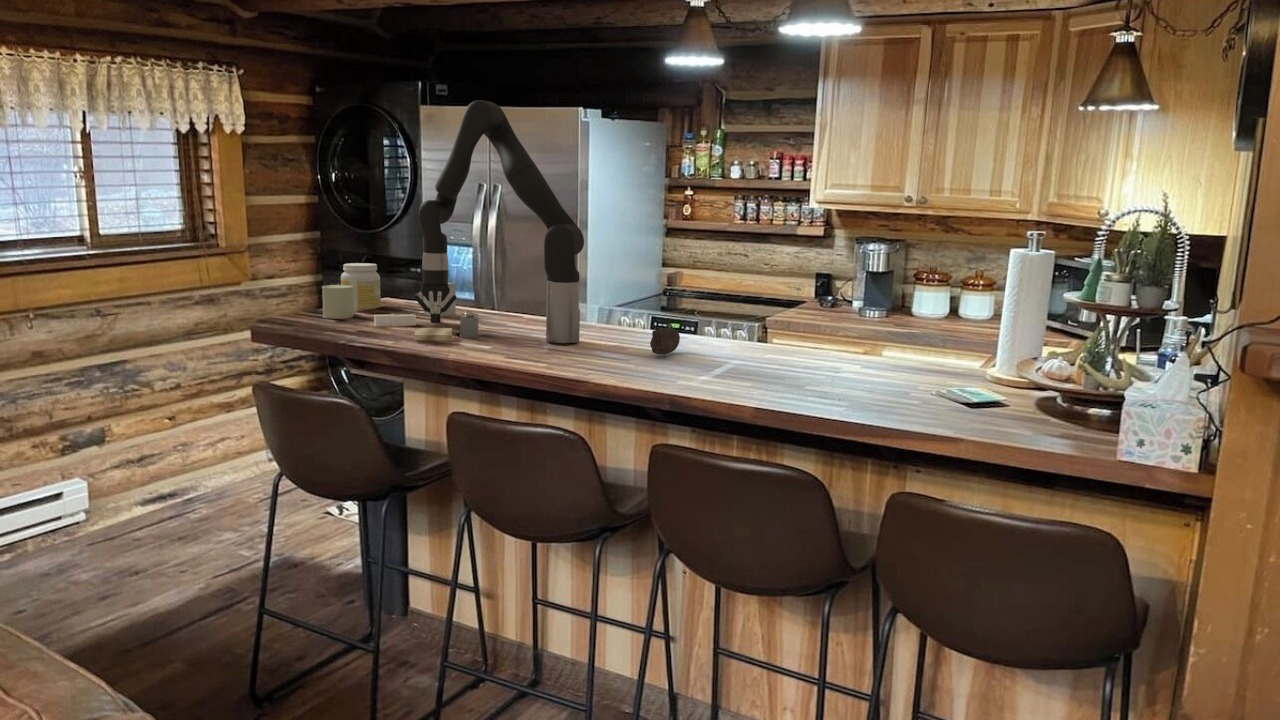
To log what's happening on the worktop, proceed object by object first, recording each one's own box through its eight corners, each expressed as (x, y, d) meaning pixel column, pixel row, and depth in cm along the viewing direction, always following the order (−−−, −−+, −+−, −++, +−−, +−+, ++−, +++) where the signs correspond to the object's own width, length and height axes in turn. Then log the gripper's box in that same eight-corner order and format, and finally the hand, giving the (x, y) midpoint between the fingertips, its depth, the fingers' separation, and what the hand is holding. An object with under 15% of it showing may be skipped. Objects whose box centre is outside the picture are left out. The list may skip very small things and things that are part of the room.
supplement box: (456, 323, 301) (456, 283, 299) (439, 325, 295) (439, 284, 293) (439, 320, 305) (439, 281, 303) (422, 323, 299) (422, 282, 296)
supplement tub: (385, 314, 314) (384, 263, 312) (374, 319, 302) (373, 266, 300) (348, 313, 315) (347, 262, 312) (336, 318, 303) (335, 265, 300)
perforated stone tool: (669, 348, 266) (670, 323, 265) (686, 350, 264) (687, 325, 263) (645, 355, 253) (645, 329, 252) (662, 357, 251) (663, 331, 249)
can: (322, 322, 293) (321, 283, 291) (354, 322, 296) (353, 283, 294) (322, 326, 285) (321, 286, 282) (354, 326, 287) (353, 286, 285)
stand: (452, 336, 273) (452, 328, 273) (452, 344, 260) (452, 335, 260) (416, 336, 271) (416, 328, 271) (414, 344, 259) (414, 334, 258)
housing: (478, 333, 281) (478, 310, 280) (478, 338, 273) (478, 314, 271) (460, 333, 281) (460, 309, 279) (460, 338, 272) (460, 314, 271)
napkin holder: (425, 331, 284) (425, 312, 283) (408, 337, 273) (408, 317, 272) (379, 328, 287) (379, 309, 286) (360, 334, 276) (360, 314, 275)
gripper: (458, 267, 288) (458, 324, 291) (413, 266, 285) (413, 324, 288) (458, 269, 281) (458, 327, 284) (411, 268, 278) (412, 327, 281)
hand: (435, 325), depth 286 cm, fingers closed
